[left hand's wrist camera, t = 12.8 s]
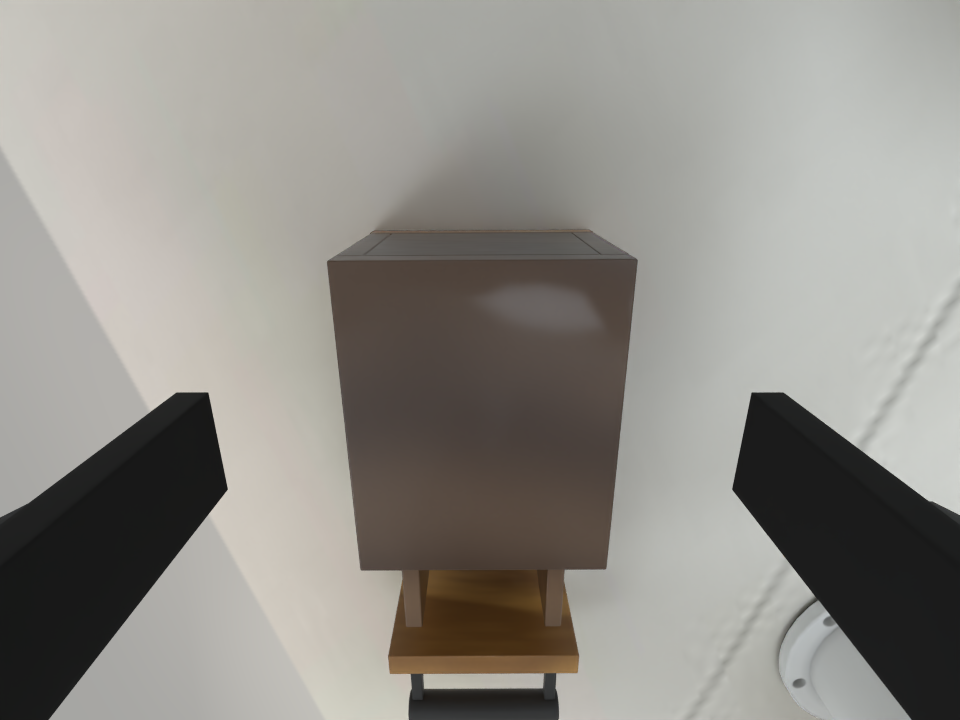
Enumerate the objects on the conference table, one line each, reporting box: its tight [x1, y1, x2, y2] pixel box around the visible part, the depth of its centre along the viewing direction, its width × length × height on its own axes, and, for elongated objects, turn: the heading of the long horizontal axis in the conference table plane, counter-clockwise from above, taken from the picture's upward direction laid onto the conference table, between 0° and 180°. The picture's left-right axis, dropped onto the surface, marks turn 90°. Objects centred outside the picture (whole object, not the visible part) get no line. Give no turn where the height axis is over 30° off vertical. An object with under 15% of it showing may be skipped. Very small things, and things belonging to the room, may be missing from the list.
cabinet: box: [327, 230, 637, 570], centre depth 24 cm, size 13×11×8 cm
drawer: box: [388, 570, 579, 720], centre depth 28 cm, size 18×9×6 cm, turn 0°
